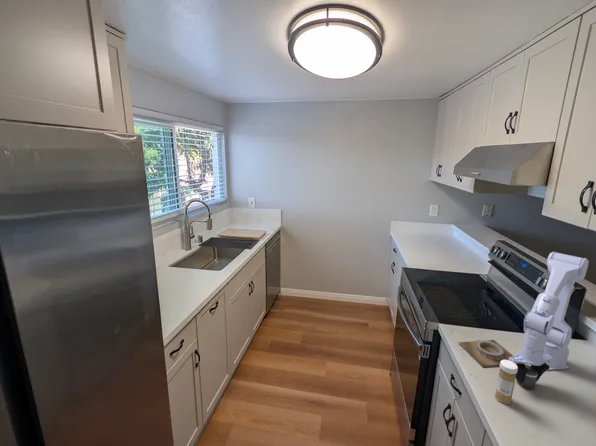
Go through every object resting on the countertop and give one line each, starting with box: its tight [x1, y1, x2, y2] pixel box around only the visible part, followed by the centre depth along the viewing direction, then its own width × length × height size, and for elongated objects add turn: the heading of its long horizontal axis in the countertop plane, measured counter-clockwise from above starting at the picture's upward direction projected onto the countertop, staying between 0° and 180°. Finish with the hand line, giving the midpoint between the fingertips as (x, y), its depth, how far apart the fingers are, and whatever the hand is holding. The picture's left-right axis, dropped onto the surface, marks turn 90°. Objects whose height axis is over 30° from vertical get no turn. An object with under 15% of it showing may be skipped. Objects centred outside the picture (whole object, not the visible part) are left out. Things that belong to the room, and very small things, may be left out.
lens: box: [516, 364, 538, 391], centre depth 98 cm, size 5×5×6 cm
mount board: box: [458, 339, 514, 368], centre depth 114 cm, size 16×14×3 cm
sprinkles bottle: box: [494, 360, 518, 405], centre depth 91 cm, size 5×5×14 cm
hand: (526, 380), depth 98 cm, fingers closed on lens, 5 cm apart
